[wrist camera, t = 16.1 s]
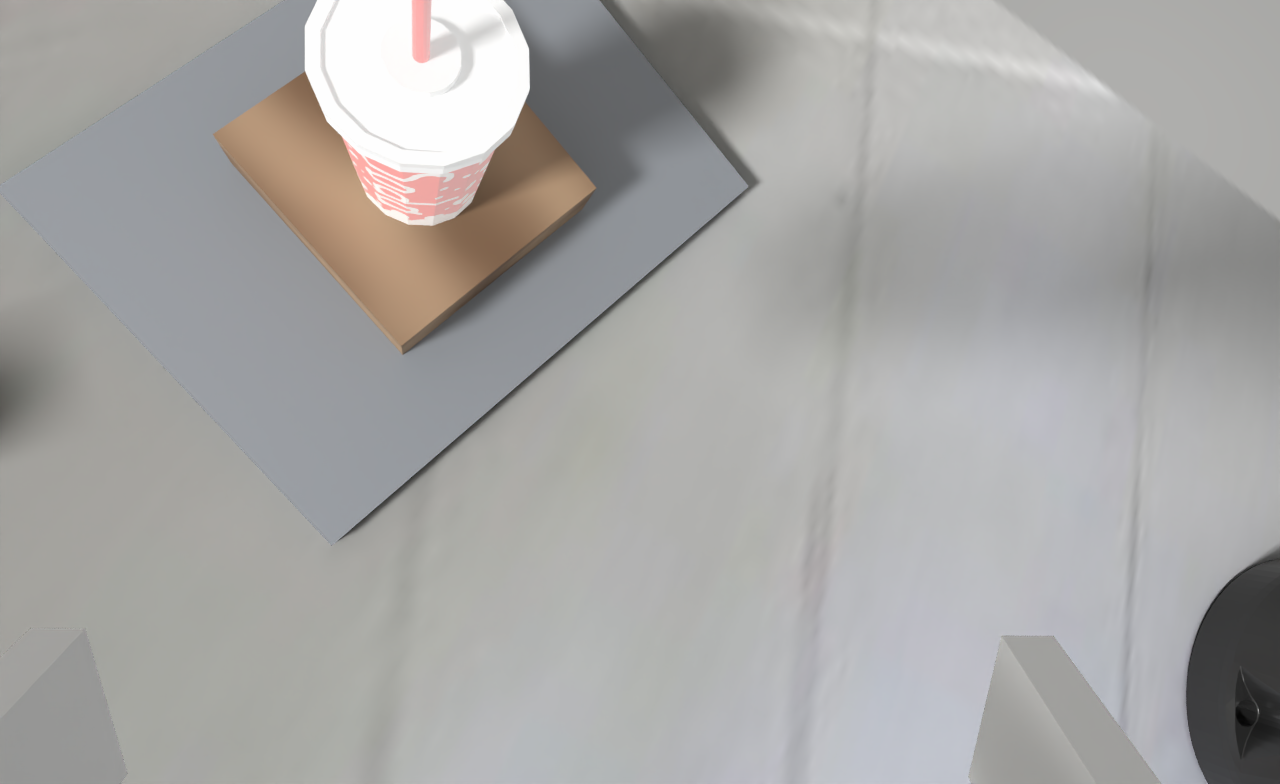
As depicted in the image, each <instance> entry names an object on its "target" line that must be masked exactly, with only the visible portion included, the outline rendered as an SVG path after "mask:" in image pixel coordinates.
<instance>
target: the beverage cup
mask: <svg viewBox="0 0 1280 784" xmlns="http://www.w3.org/2000/svg"><path fill="white" fill-rule="evenodd" d="M305 72H306V75H307V77H308V79H309V81H310V84H311V86H312V88H313V91H314V93H315V95H316V98H317V100H318V102H319V104H320V107H321V109H322V111H323V113H324V116H325V118H326V120H327V122H328V123H329V124H330V125H331V126H332V127H333V128H334V129H335V130H336V131H337V132H338V133H339V134H340V135H341V136H342V138H343V140H344V143H345V145H346V148H347V150H348V152H349V155H350V157H351V160H352V162H353V165H354V167H355V169H356V172H357V174H358V176H359V179H360V181H361V183H362V186H363V188H364V190H365V192H366V195H367V197H368V198H369V199H370V200H371V201H372V202H373V203H374V204H375V205H376V206H377V207H378V208H379V209H380V210H381V211H382V212H383V213H384V214H385V215H387V216H390V217H392V218H394V219H397V220H399V221H401V222H404V223H406V224H408V225H430V226H433V225H436V224H439V223H441V222H444V221H447V220H450V219H453V218H455V217H456V216H457V215H458V214H459V213H461V212H462V211H463V210H464V209H465V208H466V207H467V206H468V205H469V204H470V203H471V202H472V200H473V198H474V195H475V193H476V191H477V189H478V186H479V184H480V182H481V180H482V177H483V175H484V173H485V171H486V168H487V166H488V164H489V162H490V159H491V157H492V155H493V153H494V150H495V149H496V148H497V147H498V146H499V145H500V144H502V143H503V142H504V141H505V140H506V139H507V138H508V137H509V136H510V135H511V133H512V130H513V129H514V126H515V124H516V122H517V119H518V117H519V115H520V112H521V110H522V107H523V105H524V103H525V100H526V98H527V96H528V93H529V90H530V75H529V48H528V45H527V43H526V40H525V38H524V36H523V33H522V31H521V29H520V26H519V24H518V22H517V19H516V17H515V15H514V12H513V10H512V9H511V8H510V7H509V6H508V5H507V4H506V3H505V1H504V0H317V2H316V4H315V6H314V8H313V10H312V12H311V14H310V16H309V18H308V20H307V23H306V25H305Z"/></svg>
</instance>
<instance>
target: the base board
mask: <svg viewBox="0 0 1280 784" xmlns="http://www.w3.org/2000/svg"><path fill="white" fill-rule="evenodd" d="M504 1H505V3H506V4H507V5H508V6H509V7H510V8H511V9H512V10H513V12H514V15H515V17H516V19H517V22H518V24H519V26H520V29H521V31H522V33H523V36H524V38H525V40H526V43H527V45H528V48H529V75H530V90H529V93H528V96H527V98H526V100H525V102H526V104H527V105H528V106H529V107H530V108H531V110H532V111H533V112H534V113H535V114H536V116H537V117H538V118H539V119H540V120H541V122H542V123H543V124H544V125H545V126H546V128H547V129H548V130H549V131H550V132H551V134H552V135H553V136H554V137H555V138H556V140H557V141H558V142H559V143H560V144H561V146H562V147H563V148H564V149H565V150H566V152H567V153H568V154H569V155H570V157H571V158H572V159H573V160H574V161H575V163H576V164H577V165H578V166H579V167H580V169H581V170H582V171H583V172H584V173H585V175H586V176H587V177H588V178H589V179H590V181H591V182H592V183H593V184H594V185H595V187H596V190H595V191H594V193H593V194H592V195H591V197H590V198H589V200H588V201H587V203H586V204H585V206H584V207H583V209H582V210H581V211H579V212H578V213H577V214H576V215H574V216H573V217H572V218H571V219H570V220H568V221H567V222H566V223H565V224H563V225H562V226H561V227H560V228H558V229H557V230H556V231H555V232H554V233H552V234H551V235H550V236H549V237H547V238H546V239H545V240H544V241H542V242H541V243H540V244H539V245H538V246H536V247H535V248H534V249H533V250H531V251H530V252H529V253H528V254H526V255H525V256H524V257H523V258H522V259H520V260H519V261H518V262H517V263H515V264H514V265H513V266H512V267H510V268H509V269H508V270H507V271H506V272H504V273H503V274H502V275H501V276H499V277H498V278H497V279H496V280H494V281H493V282H492V283H491V284H490V285H488V286H487V287H486V288H485V289H483V290H482V291H481V292H480V293H478V294H477V295H476V296H475V297H474V298H472V299H471V300H470V301H469V302H467V303H466V304H465V305H464V306H462V307H461V308H460V309H459V310H458V311H456V312H455V313H454V314H453V315H451V316H450V317H449V318H448V319H446V320H445V321H444V322H443V323H442V324H440V325H439V326H438V327H437V328H435V329H434V330H433V331H432V332H430V333H429V334H428V335H427V336H426V337H424V338H423V339H422V340H421V341H419V342H418V343H417V344H416V345H414V346H413V347H412V348H411V349H410V350H408V351H407V352H406V353H405V354H403V355H402V354H401V353H400V351H399V350H398V349H397V348H396V347H395V346H394V345H393V344H392V342H391V341H390V340H389V339H388V338H387V337H386V336H385V335H384V334H383V332H382V331H381V330H380V329H379V328H378V327H377V326H376V325H375V323H374V322H373V321H372V320H371V319H370V318H369V317H368V316H367V314H366V313H365V312H364V311H363V310H362V309H361V308H360V307H359V306H358V304H357V303H356V302H355V301H354V300H353V299H352V298H351V297H350V295H349V294H348V293H347V292H346V291H345V290H344V289H343V288H342V286H341V285H340V284H339V283H338V282H337V281H336V280H335V279H334V278H333V276H332V275H331V274H330V273H329V272H328V271H327V270H326V269H325V267H324V266H323V265H322V264H321V263H320V262H319V261H318V260H317V258H316V257H315V256H314V255H313V254H312V253H311V252H310V251H309V250H308V248H307V247H306V246H305V245H304V244H303V243H302V242H301V241H300V239H299V238H298V237H297V236H296V235H295V234H294V233H293V232H292V231H291V229H290V228H289V227H288V226H287V225H286V224H285V223H284V222H283V220H282V219H281V218H280V217H279V216H278V215H277V214H276V213H275V211H274V210H273V209H272V208H271V207H270V206H269V205H268V204H267V203H266V201H265V200H264V199H263V198H262V197H261V196H260V195H259V194H258V192H257V191H256V190H255V189H254V188H253V187H252V186H251V185H250V183H249V182H248V181H247V180H246V179H245V178H244V177H243V176H242V175H241V173H240V172H239V171H238V170H237V169H236V168H235V167H234V166H233V164H232V163H231V162H230V160H229V159H228V157H227V156H226V154H225V153H224V151H223V150H222V148H221V147H220V145H219V143H218V142H217V140H216V139H215V137H214V136H213V134H214V133H215V132H217V131H218V130H220V129H221V128H223V127H224V126H226V125H227V124H228V123H230V122H231V121H233V120H234V119H236V118H237V117H239V116H240V115H242V114H243V113H245V112H246V111H248V110H249V109H250V108H252V107H253V106H255V105H256V104H258V103H259V102H261V101H262V100H264V99H265V98H267V97H268V96H270V95H271V94H272V93H274V92H275V91H277V90H278V89H280V88H281V87H283V86H284V85H286V84H287V83H289V82H290V81H292V80H293V79H295V78H296V77H297V76H299V75H300V74H302V73H303V72H305V25H306V23H307V20H308V18H309V16H310V14H311V12H312V10H313V8H314V6H315V4H316V2H317V0H284V1H282V2H280V3H279V4H277V5H276V6H274V7H273V8H271V9H270V10H268V11H267V12H265V13H264V14H262V15H260V16H259V17H257V18H256V19H254V20H253V21H251V22H250V23H248V24H247V25H245V26H244V27H242V28H240V29H239V30H237V31H236V32H234V33H233V34H231V35H230V36H228V37H227V38H225V39H224V40H222V41H220V42H219V43H217V44H216V45H214V46H213V47H211V48H210V49H208V50H207V51H205V52H204V53H202V54H200V55H199V56H197V57H196V58H194V59H193V60H191V61H190V62H188V63H187V64H185V65H184V66H182V67H181V68H179V69H177V70H176V71H174V72H173V73H171V74H170V75H168V76H167V77H165V78H164V79H162V80H161V81H159V82H157V83H156V84H154V85H153V86H151V87H150V88H148V89H147V90H145V91H144V92H142V93H141V94H139V95H137V96H136V97H134V98H133V99H131V100H130V101H128V102H127V103H125V104H124V105H122V106H121V107H119V108H117V109H116V110H114V111H113V112H111V113H110V114H108V115H107V116H105V117H104V118H102V119H101V120H99V121H97V122H96V123H94V124H93V125H91V126H90V127H88V128H87V129H85V130H84V131H82V132H81V133H79V134H77V135H76V136H74V137H73V138H71V139H70V140H68V141H67V142H65V143H64V144H62V145H61V146H59V147H57V148H56V149H54V150H53V151H51V152H50V153H48V154H47V155H45V156H44V157H42V158H41V159H39V160H37V161H36V162H34V163H33V164H31V165H30V166H28V167H27V168H25V169H24V170H22V171H21V172H19V173H17V174H16V175H14V176H13V177H11V178H10V179H8V180H7V181H5V182H4V183H2V184H1V185H0V194H1V195H2V196H3V197H4V198H5V199H6V200H7V201H8V202H9V203H10V204H11V205H12V206H13V208H14V209H15V210H16V211H17V212H18V213H19V214H20V215H21V216H22V217H23V218H24V219H25V220H26V221H27V222H28V223H29V225H30V226H31V227H32V228H33V229H34V230H35V231H36V232H37V233H38V234H39V235H40V236H41V237H42V238H43V239H44V240H45V242H46V243H47V244H48V245H49V246H50V247H51V248H52V249H53V250H54V251H55V252H56V253H57V254H58V255H59V256H60V257H61V259H62V260H63V261H64V262H65V263H66V264H67V265H68V266H69V267H70V268H71V269H72V270H73V271H74V272H75V273H76V274H77V276H78V277H79V278H80V279H81V280H82V281H83V282H84V283H85V284H86V285H87V286H88V287H89V288H90V289H91V290H92V291H93V293H94V294H95V295H96V296H97V297H98V298H99V299H100V300H101V301H102V302H103V303H104V304H105V305H106V306H107V307H108V308H109V310H110V311H111V312H112V313H113V314H114V315H115V316H116V317H117V318H118V319H119V320H120V321H121V322H122V323H123V324H124V325H125V327H126V328H127V329H128V330H129V331H130V332H131V333H132V334H133V335H134V336H135V337H136V338H137V339H138V340H139V341H140V343H141V344H142V345H143V346H144V347H145V348H146V349H147V350H148V351H149V352H150V353H151V354H152V355H153V356H154V357H155V358H156V360H157V361H158V362H159V363H160V364H161V365H162V366H163V367H164V368H165V369H166V370H167V371H168V372H169V373H170V374H171V375H172V377H173V378H174V379H175V380H176V381H177V382H178V383H179V384H180V385H181V386H182V387H183V388H184V389H185V390H186V391H187V392H188V394H189V395H190V396H191V397H192V398H193V399H194V400H195V401H196V402H197V403H198V404H199V405H200V406H201V407H202V408H203V409H204V411H205V412H206V413H207V414H208V415H209V416H210V417H211V418H212V419H213V420H214V421H215V422H216V423H217V424H218V425H219V426H220V428H221V429H222V430H223V431H224V432H225V433H226V434H227V435H228V436H229V437H230V438H231V439H232V440H233V441H234V442H235V443H236V445H237V446H238V447H239V448H240V449H241V450H242V451H243V452H244V453H245V454H246V455H247V456H248V457H249V458H250V459H251V460H252V462H253V463H254V464H255V465H256V466H257V467H258V468H259V469H260V470H261V471H262V472H263V473H264V474H265V475H266V476H267V477H268V479H269V480H270V481H271V482H272V483H273V484H274V485H275V486H276V487H277V488H278V489H279V490H280V491H281V492H282V493H283V494H284V496H285V497H286V498H287V499H288V500H289V501H290V502H291V503H292V504H293V505H294V506H295V507H296V508H297V509H298V510H299V511H300V513H301V514H302V515H303V516H304V517H305V518H306V519H307V520H308V521H309V522H310V523H311V524H312V525H313V526H314V527H315V529H316V530H317V531H318V532H319V533H320V534H321V535H322V536H323V537H324V538H325V539H326V540H327V541H328V542H329V543H330V544H331V546H332V545H333V544H334V543H335V542H337V541H338V540H339V539H340V538H341V537H342V536H344V535H345V534H346V533H347V532H348V531H349V530H351V529H352V528H353V527H354V526H355V525H356V524H358V523H359V522H360V521H361V520H362V519H363V518H364V517H366V516H367V515H368V514H369V513H370V512H371V511H373V510H374V509H375V508H376V507H377V506H378V505H380V504H381V503H382V502H383V501H384V500H385V499H387V498H388V497H389V496H390V495H391V494H392V493H394V492H395V491H396V490H397V489H398V488H399V487H400V486H402V485H403V484H404V483H405V482H406V481H407V480H409V479H410V478H411V477H412V476H413V475H414V474H416V473H417V472H418V471H419V470H420V469H421V468H423V467H424V466H425V465H426V464H427V463H428V462H430V461H431V460H432V459H433V458H434V457H435V456H436V455H438V454H439V453H440V452H441V451H442V450H443V449H445V448H446V447H447V446H448V445H449V444H450V443H452V442H453V441H454V440H455V439H456V438H457V437H459V436H460V435H461V434H462V433H463V432H464V431H466V430H467V429H468V428H469V427H470V426H471V425H472V424H474V423H475V422H476V421H477V420H478V419H479V418H481V417H482V416H483V415H484V414H485V413H486V412H488V411H489V410H490V409H491V408H492V407H493V406H495V405H496V404H497V403H498V402H499V401H500V400H502V399H503V398H504V397H505V396H506V395H507V394H508V393H510V392H511V391H512V390H513V389H514V388H515V387H517V386H518V385H519V384H520V383H521V382H522V381H524V380H525V379H526V378H527V377H528V376H529V375H531V374H532V373H533V372H534V371H535V370H536V369H537V368H539V367H540V366H541V365H542V364H543V363H544V362H546V361H547V360H548V359H549V358H550V357H551V356H553V355H554V354H555V353H556V352H557V351H558V350H560V349H561V348H562V347H563V346H564V345H565V344H567V343H568V342H569V341H570V340H571V339H572V338H573V337H575V336H576V335H577V334H578V333H579V332H580V331H582V330H583V329H584V328H585V327H586V326H587V325H589V324H590V323H591V322H592V321H593V320H594V319H596V318H597V317H598V316H599V315H600V314H601V313H603V312H604V311H605V310H606V309H607V308H608V307H609V306H611V305H612V304H613V303H614V302H615V301H616V300H618V299H619V298H620V297H621V296H622V295H623V294H625V293H626V292H627V291H628V290H629V289H630V288H632V287H633V286H634V285H635V284H636V283H637V282H639V281H640V280H641V279H642V278H643V277H644V276H645V275H647V274H648V273H649V272H650V271H651V270H652V269H654V268H655V267H656V266H657V265H658V264H659V263H661V262H662V261H663V260H664V259H665V258H666V257H668V256H669V255H670V254H671V253H672V252H673V251H675V250H676V249H677V248H678V247H679V246H680V245H681V244H683V243H684V242H685V241H686V240H687V239H688V238H690V237H691V236H692V235H693V234H694V233H695V232H697V231H698V230H699V229H700V228H701V227H702V226H704V225H705V224H706V223H707V222H708V221H709V220H711V219H712V218H713V217H714V216H715V215H716V214H717V213H719V212H720V211H721V210H722V209H723V208H724V207H726V206H727V205H728V204H729V203H730V202H731V201H733V200H734V199H735V198H736V197H737V196H738V195H740V194H741V193H742V192H743V191H744V190H745V189H747V188H748V187H749V186H748V185H747V184H746V182H745V181H744V180H743V179H742V177H741V176H740V175H739V174H738V172H737V171H736V170H735V169H734V167H733V166H732V165H731V164H730V162H729V161H728V160H727V159H726V157H725V156H724V155H723V154H722V152H721V151H720V150H719V149H718V147H717V146H716V145H715V144H714V142H713V141H712V140H711V139H710V137H709V136H708V135H707V134H706V132H705V131H704V130H703V129H702V127H701V126H700V125H699V124H698V122H697V121H696V120H695V119H694V117H693V116H692V115H691V114H690V112H689V111H688V110H687V109H686V107H685V106H684V105H683V104H682V102H681V101H680V100H679V99H678V97H677V96H676V95H675V94H674V92H673V91H672V90H671V89H670V87H669V86H668V85H667V84H666V82H665V81H664V80H663V79H662V78H661V76H660V75H659V74H658V73H657V71H656V70H655V69H654V68H653V66H652V65H651V64H650V63H649V61H648V60H647V59H646V58H645V56H644V55H643V54H642V53H641V51H640V50H639V49H638V48H637V46H636V45H635V44H634V43H633V41H632V40H631V39H630V38H629V36H628V35H627V34H626V33H625V31H624V30H623V29H622V28H621V26H620V25H619V24H618V23H617V21H616V20H615V19H614V18H613V16H612V15H611V14H610V13H609V11H608V10H607V9H606V8H605V6H604V5H603V4H602V3H601V1H600V0H504Z"/></svg>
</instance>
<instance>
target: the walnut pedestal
mask: <svg viewBox="0 0 1280 784" xmlns="http://www.w3.org/2000/svg"><path fill="white" fill-rule="evenodd" d="M213 136H214V137H215V139H216V140H217V142H218V143H219V145H220V147H221V148H222V150H223V151H224V153H225V154H226V156H227V157H228V159H229V160H230V162H231V163H232V164H233V166H234V167H235V168H236V169H237V170H238V171H239V172H240V173H241V175H242V176H243V177H244V178H245V179H246V180H247V181H248V182H249V183H250V185H251V186H252V187H253V188H254V189H255V190H256V191H257V192H258V194H259V195H260V196H261V197H262V198H263V199H264V200H265V201H266V203H267V204H268V205H269V206H270V207H271V208H272V209H273V210H274V211H275V213H276V214H277V215H278V216H279V217H280V218H281V219H282V220H283V222H284V223H285V224H286V225H287V226H288V227H289V228H290V229H291V231H292V232H293V233H294V234H295V235H296V236H297V237H298V238H299V239H300V241H301V242H302V243H303V244H304V245H305V246H306V247H307V248H308V250H309V251H310V252H311V253H312V254H313V255H314V256H315V257H316V258H317V260H318V261H319V262H320V263H321V264H322V265H323V266H324V267H325V269H326V270H327V271H328V272H329V273H330V274H331V275H332V276H333V278H334V279H335V280H336V281H337V282H338V283H339V284H340V285H341V286H342V288H343V289H344V290H345V291H346V292H347V293H348V294H349V295H350V297H351V298H352V299H353V300H354V301H355V302H356V303H357V304H358V306H359V307H360V308H361V309H362V310H363V311H364V312H365V313H366V314H367V316H368V317H369V318H370V319H371V320H372V321H373V322H374V323H375V325H376V326H377V327H378V328H379V329H380V330H381V331H382V332H383V334H384V335H385V336H386V337H387V338H388V339H389V340H390V341H391V342H392V344H393V345H394V346H395V347H396V348H397V349H398V350H399V351H400V353H401V354H402V355H403V354H405V353H406V352H407V351H408V350H410V349H411V348H412V347H413V346H414V345H416V344H417V343H418V342H419V341H421V340H422V339H423V338H424V337H426V336H427V335H428V334H429V333H430V332H432V331H433V330H434V329H435V328H437V327H438V326H439V325H440V324H442V323H443V322H444V321H445V320H446V319H448V318H449V317H450V316H451V315H453V314H454V313H455V312H456V311H458V310H459V309H460V308H461V307H462V306H464V305H465V304H466V303H467V302H469V301H470V300H471V299H472V298H474V297H475V296H476V295H477V294H478V293H480V292H481V291H482V290H483V289H485V288H486V287H487V286H488V285H490V284H491V283H492V282H493V281H494V280H496V279H497V278H498V277H499V276H501V275H502V274H503V273H504V272H506V271H507V270H508V269H509V268H510V267H512V266H513V265H514V264H515V263H517V262H518V261H519V260H520V259H522V258H523V257H524V256H525V255H526V254H528V253H529V252H530V251H531V250H533V249H534V248H535V247H536V246H538V245H539V244H540V243H541V242H542V241H544V240H545V239H546V238H547V237H549V236H550V235H551V234H552V233H554V232H555V231H556V230H557V229H558V228H560V227H561V226H562V225H563V224H565V223H566V222H567V221H568V220H570V219H571V218H572V217H573V216H574V215H576V214H577V213H578V212H579V211H581V210H582V209H583V207H584V206H585V204H586V203H587V201H588V200H589V198H590V197H591V195H592V194H593V193H594V191H595V190H596V187H595V185H594V184H593V183H592V182H591V181H590V179H589V178H588V177H587V176H586V175H585V173H584V172H583V171H582V170H581V169H580V167H579V166H578V165H577V164H576V163H575V161H574V160H573V159H572V158H571V157H570V155H569V154H568V153H567V152H566V150H565V149H564V148H563V147H562V146H561V144H560V143H559V142H558V141H557V140H556V138H555V137H554V136H553V135H552V134H551V132H550V131H549V130H548V129H547V128H546V126H545V125H544V124H543V123H542V122H541V120H540V119H539V118H538V117H537V116H536V114H535V113H534V112H533V111H532V110H531V108H530V107H529V106H528V105H527V104H526V102H525V103H524V105H523V107H522V110H521V112H520V115H519V117H518V119H517V122H516V124H515V126H514V129H513V130H512V133H511V135H510V136H509V137H508V138H507V139H506V140H505V141H504V142H503V143H502V144H500V145H499V146H498V147H497V148H496V149H495V150H494V153H493V155H492V157H491V159H490V162H489V164H488V166H487V168H486V171H485V173H484V175H483V177H482V180H481V182H480V184H479V186H478V189H477V191H476V193H475V195H474V198H473V200H472V202H471V203H470V204H469V205H468V206H467V207H466V208H465V209H464V210H463V211H462V212H461V213H459V214H458V215H457V216H456V217H455V218H453V219H450V220H447V221H444V222H441V223H439V224H436V225H433V226H430V225H408V224H406V223H404V222H401V221H399V220H397V219H394V218H392V217H390V216H387V215H385V214H384V213H383V212H382V211H381V210H380V209H379V208H378V207H377V206H376V205H375V204H374V203H373V202H372V201H371V200H370V199H369V198H368V197H367V195H366V192H365V190H364V188H363V186H362V183H361V181H360V179H359V176H358V174H357V172H356V169H355V167H354V165H353V162H352V160H351V157H350V155H349V152H348V150H347V148H346V145H345V143H344V140H343V138H342V136H341V135H340V134H339V133H338V132H337V131H336V130H335V129H334V128H333V127H332V126H331V125H330V124H329V123H328V122H327V120H326V118H325V116H324V113H323V111H322V109H321V107H320V104H319V102H318V100H317V98H316V95H315V93H314V91H313V88H312V86H311V84H310V81H309V79H308V77H307V75H306V72H303V73H302V74H300V75H299V76H297V77H296V78H295V79H293V80H292V81H290V82H289V83H287V84H286V85H284V86H283V87H281V88H280V89H278V90H277V91H275V92H274V93H272V94H271V95H270V96H268V97H267V98H265V99H264V100H262V101H261V102H259V103H258V104H256V105H255V106H253V107H252V108H250V109H249V110H248V111H246V112H245V113H243V114H242V115H240V116H239V117H237V118H236V119H234V120H233V121H231V122H230V123H228V124H227V125H226V126H224V127H223V128H221V129H220V130H218V131H217V132H215V133H214V134H213Z"/></svg>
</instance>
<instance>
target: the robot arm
mask: <svg viewBox="0 0 1280 784" xmlns="http://www.w3.org/2000/svg"><path fill="white" fill-rule="evenodd" d="M1187 717H1188V725H1189V731H1190V736H1191V741H1192V745H1193V748H1194V752H1195V755H1196V758H1197V760H1198V763H1199V766H1200V768H1201V770H1202V772H1203V775H1204V777H1205V779H1206V780H1207V782H1208V784H1280V559H1276V560H1271V561H1268V562H1265V563H1262V564H1259V565H1257V566H1255V567H1253V568H1251V569H1249V570H1248V571H1246V572H1244V573H1243V574H1241V575H1240V576H1239V577H1237V578H1236V579H1235V580H1234V581H1233V582H1232V583H1230V584H1229V585H1228V587H1227V588H1226V589H1225V590H1224V591H1223V592H1222V593H1221V594H1220V596H1219V597H1218V598H1217V599H1216V601H1215V602H1214V604H1213V605H1212V607H1211V608H1210V610H1209V612H1208V613H1207V615H1206V617H1205V619H1204V621H1203V623H1202V625H1201V628H1200V630H1199V632H1198V635H1197V638H1196V641H1195V644H1194V647H1193V651H1192V655H1191V659H1190V665H1189V670H1188V679H1187ZM127 774H128V773H127V769H126V766H125V762H124V759H123V756H122V752H121V749H120V745H119V742H118V739H117V735H116V732H115V728H114V725H113V721H112V718H111V715H110V711H109V708H108V704H107V701H106V698H105V694H104V691H103V687H102V684H101V680H100V677H99V674H98V670H97V667H96V663H95V660H94V656H93V653H92V650H91V646H90V643H89V639H88V636H87V633H86V629H80V628H30V629H29V630H28V631H27V632H26V633H25V634H24V635H23V636H22V637H21V638H20V639H19V640H18V641H17V642H16V643H15V644H14V645H12V646H11V647H10V648H9V649H8V650H7V651H6V652H5V653H4V654H3V655H2V656H1V657H0V784H121V782H122V781H123V779H124V778H125V777H126V775H127ZM968 777H969V779H970V781H971V784H1161V783H1160V781H1159V780H1158V778H1157V777H1156V776H1155V774H1154V773H1153V772H1152V770H1151V769H1150V768H1149V766H1148V765H1147V763H1146V762H1145V761H1144V759H1143V758H1142V757H1141V755H1140V754H1139V752H1138V751H1137V750H1136V748H1135V747H1134V746H1133V744H1132V743H1131V741H1130V740H1129V739H1128V737H1127V736H1126V735H1125V733H1124V732H1123V731H1122V729H1121V728H1120V726H1119V725H1118V724H1117V722H1116V721H1115V720H1114V718H1113V717H1112V715H1111V714H1110V713H1109V711H1108V710H1107V709H1106V707H1105V706H1104V704H1103V703H1102V702H1101V700H1100V699H1099V698H1098V696H1097V695H1096V694H1095V692H1094V691H1093V689H1092V688H1091V687H1090V685H1089V684H1088V683H1087V681H1086V680H1085V678H1084V677H1083V676H1082V674H1081V673H1080V672H1079V670H1078V669H1077V667H1076V666H1075V665H1074V663H1073V662H1072V661H1071V659H1070V658H1069V657H1068V655H1067V654H1066V652H1065V651H1064V650H1063V648H1062V647H1061V646H1060V644H1059V643H1058V641H1057V640H1056V639H1055V637H1054V636H1001V640H1000V645H999V649H998V653H997V657H996V661H995V666H994V670H993V674H992V678H991V683H990V687H989V691H988V695H987V700H986V704H985V708H984V712H983V717H982V721H981V725H980V729H979V733H978V738H977V742H976V746H975V750H974V755H973V759H972V763H971V767H970V772H969V776H968Z"/></svg>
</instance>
